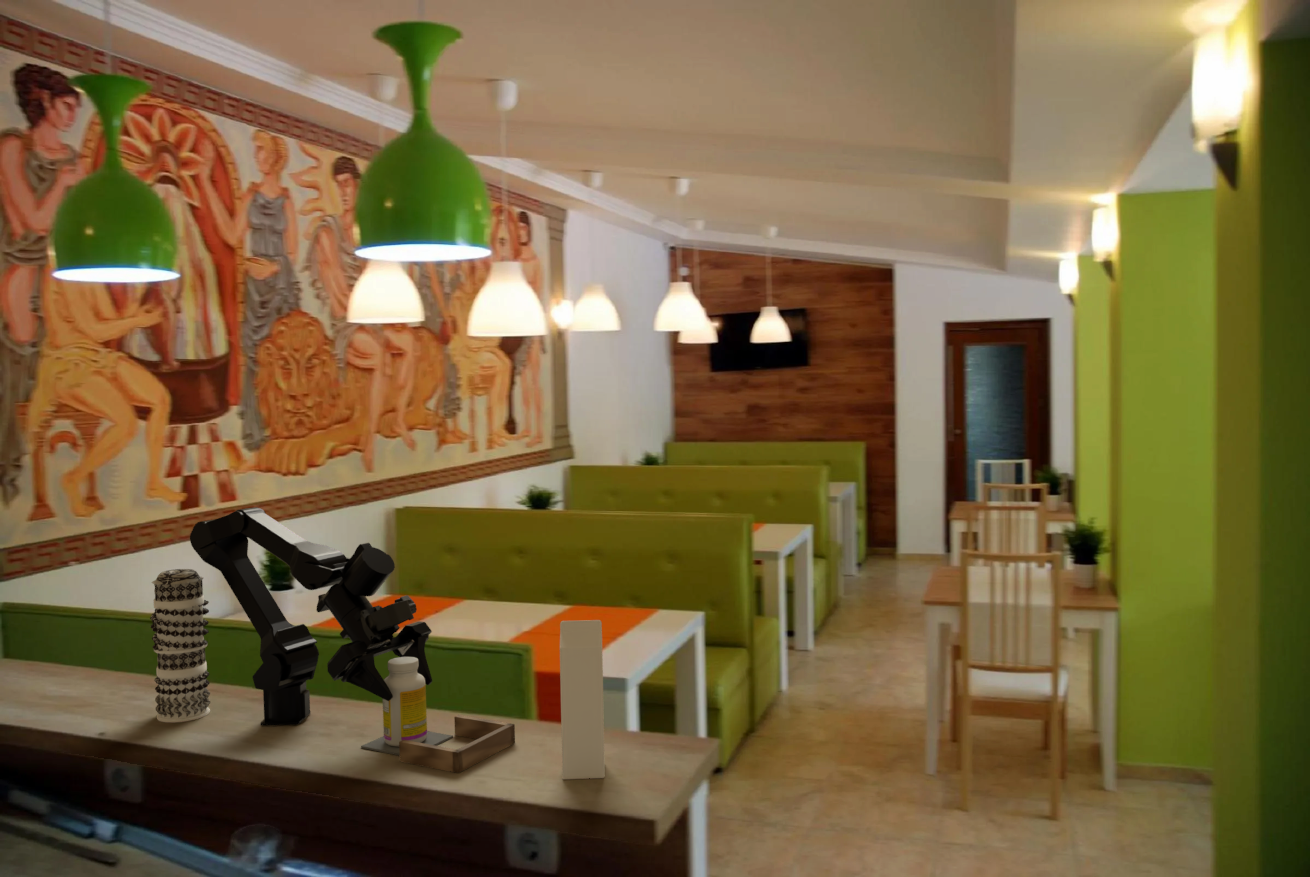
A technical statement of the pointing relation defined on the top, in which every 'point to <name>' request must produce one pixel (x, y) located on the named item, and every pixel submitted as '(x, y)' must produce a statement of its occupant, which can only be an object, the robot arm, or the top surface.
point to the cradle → (487, 744)
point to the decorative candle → (180, 646)
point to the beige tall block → (582, 699)
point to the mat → (382, 746)
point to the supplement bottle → (405, 703)
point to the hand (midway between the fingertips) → (411, 691)
